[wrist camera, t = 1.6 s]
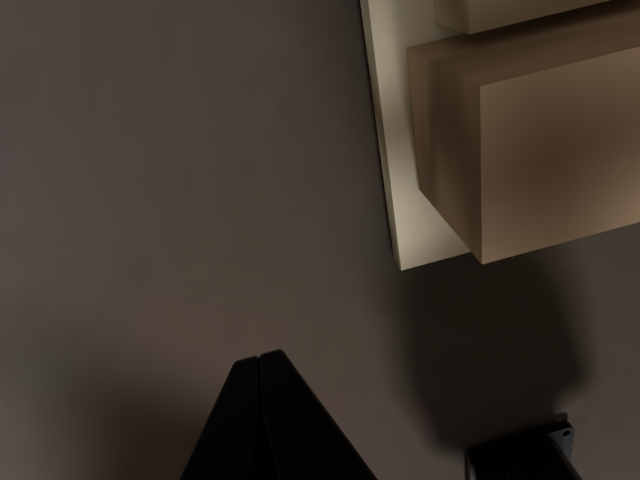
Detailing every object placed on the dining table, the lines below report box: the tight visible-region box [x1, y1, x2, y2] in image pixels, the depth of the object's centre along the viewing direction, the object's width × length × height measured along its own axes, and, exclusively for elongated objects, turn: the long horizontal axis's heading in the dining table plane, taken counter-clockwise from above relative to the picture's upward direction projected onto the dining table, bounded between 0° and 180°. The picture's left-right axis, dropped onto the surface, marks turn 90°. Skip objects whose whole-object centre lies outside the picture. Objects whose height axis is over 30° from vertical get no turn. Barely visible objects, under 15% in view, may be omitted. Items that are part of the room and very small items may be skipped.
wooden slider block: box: [407, 0, 640, 264], centre depth 14 cm, size 8×9×6 cm
